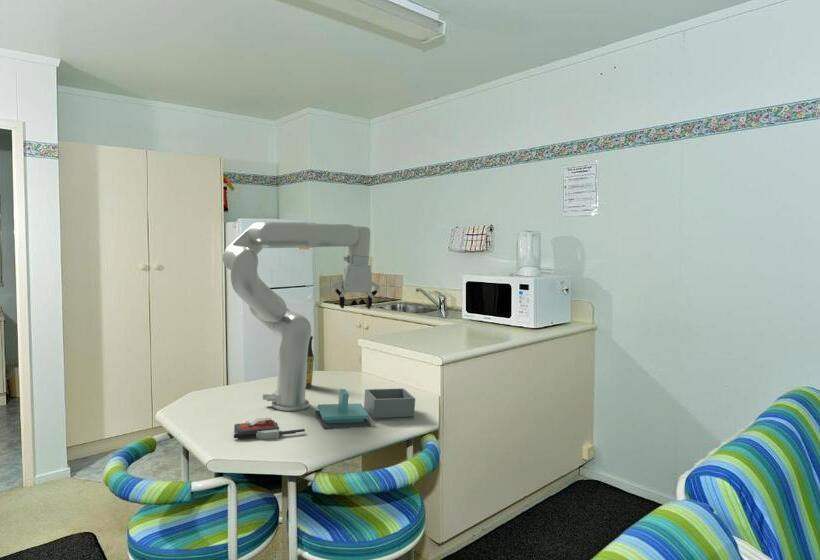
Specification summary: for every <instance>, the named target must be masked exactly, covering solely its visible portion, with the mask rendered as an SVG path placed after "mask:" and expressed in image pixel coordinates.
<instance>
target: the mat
mask: <svg viewBox="0 0 820 560" xmlns="http://www.w3.org/2000/svg"><path fill="white" fill-rule="evenodd" d="M314 414H315V415H316V417H317V420H318V422H319V423H320V425H321V427H322V429H323V430H328V429H329V430H331V429H333V430H334V429H335V428H336V429H351V428H350V427H355V428H371V427H372V424H371V422H370V421H369V420H368V419H364V422H348V423H326V421H325V420H323V419H322V416H321V414H320V412H319V410H318V409H317V410H315V411H314ZM336 429H335V430H336Z"/></svg>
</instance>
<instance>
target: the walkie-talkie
mask: <svg viewBox="0 0 820 560" xmlns="http://www.w3.org/2000/svg"><path fill="white" fill-rule="evenodd" d="M233 428H234V429H233V433H234V434H233V438H234V439H237V440H248V439H257V440H258V439H259V440H269V439H270V440H271V439H272V440H273V439H279V437H281V436H284V435H294V434H296V433H303V432H305V431H306V430H305V429H304V428H300V429H299V428H298V429H292V430H291V429H290V430H280V426H279V425H278V422H277V421H276V422H275V420H273V419H272V418H271V417H263V418H262V417H261V418H256V419H254V420H253V421H251V422H250V421H249V420H246V421H245V422H243V423H235V424H234V426H233Z"/></svg>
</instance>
